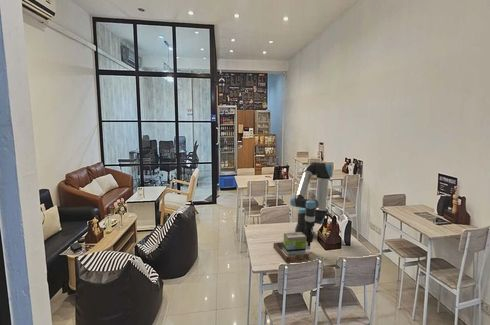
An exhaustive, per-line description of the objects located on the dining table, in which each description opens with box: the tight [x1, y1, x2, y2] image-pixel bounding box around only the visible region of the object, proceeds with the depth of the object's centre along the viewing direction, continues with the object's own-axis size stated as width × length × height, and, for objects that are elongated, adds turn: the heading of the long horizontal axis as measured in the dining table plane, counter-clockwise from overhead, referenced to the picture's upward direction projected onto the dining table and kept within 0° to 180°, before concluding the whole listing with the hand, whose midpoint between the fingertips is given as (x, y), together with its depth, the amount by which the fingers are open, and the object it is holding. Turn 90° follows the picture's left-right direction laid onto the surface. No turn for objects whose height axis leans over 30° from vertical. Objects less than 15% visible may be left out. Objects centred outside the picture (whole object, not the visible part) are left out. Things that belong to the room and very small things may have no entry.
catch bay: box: [273, 241, 310, 263], centre depth 221 cm, size 19×24×4 cm
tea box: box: [282, 231, 307, 256], centre depth 221 cm, size 15×10×15 cm
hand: (308, 249), depth 225 cm, fingers closed
